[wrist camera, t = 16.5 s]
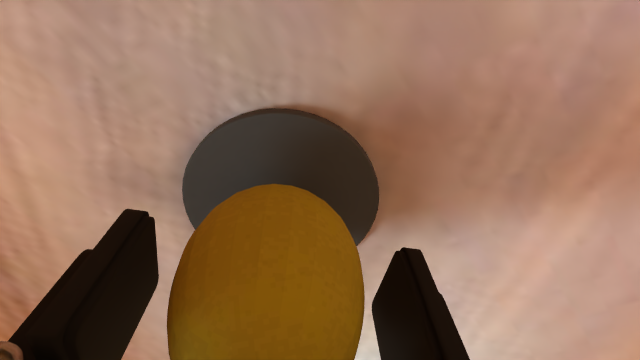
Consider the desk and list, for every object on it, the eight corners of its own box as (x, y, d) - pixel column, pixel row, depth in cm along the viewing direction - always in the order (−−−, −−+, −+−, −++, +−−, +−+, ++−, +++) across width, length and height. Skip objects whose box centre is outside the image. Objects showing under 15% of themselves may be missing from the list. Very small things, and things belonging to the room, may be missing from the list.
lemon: (338, 132, 12) (380, 349, 5) (355, 244, 14) (397, 477, 8) (190, 158, 12) (37, 393, 5) (237, 262, 15) (177, 500, 8)
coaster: (185, 87, 11) (180, 92, 11) (403, 130, 12) (407, 135, 12) (186, 254, 15) (182, 261, 15) (349, 274, 16) (351, 282, 16)
